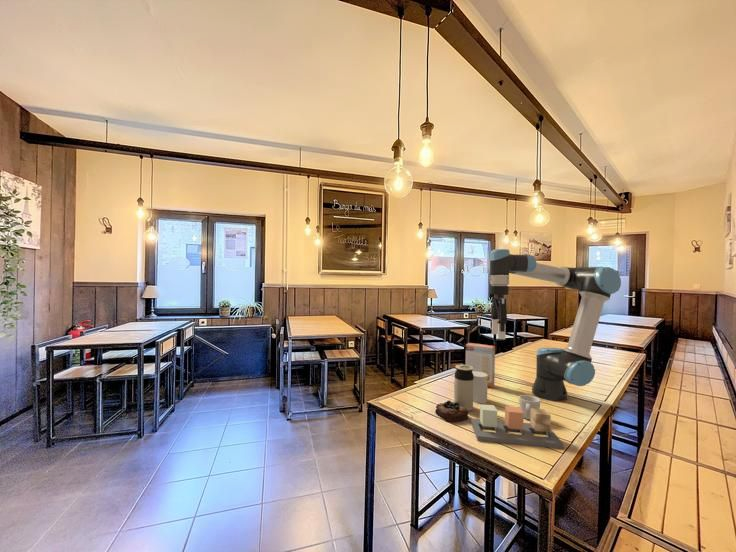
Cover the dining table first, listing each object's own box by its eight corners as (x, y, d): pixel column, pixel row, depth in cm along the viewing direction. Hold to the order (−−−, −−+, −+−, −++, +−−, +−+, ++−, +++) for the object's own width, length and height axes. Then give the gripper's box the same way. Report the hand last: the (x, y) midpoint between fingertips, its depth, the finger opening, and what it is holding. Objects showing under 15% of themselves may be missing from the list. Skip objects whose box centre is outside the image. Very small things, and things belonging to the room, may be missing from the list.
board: (547, 428, 123) (547, 424, 123) (563, 448, 110) (563, 443, 110) (470, 422, 128) (471, 418, 128) (477, 440, 114) (477, 436, 114)
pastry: (449, 425, 126) (449, 409, 126) (431, 412, 137) (432, 398, 137) (471, 420, 130) (472, 405, 130) (452, 408, 141) (453, 395, 141)
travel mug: (476, 407, 142) (476, 366, 142) (467, 413, 136) (468, 370, 136) (459, 402, 147) (460, 363, 147) (450, 407, 141) (451, 366, 141)
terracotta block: (518, 423, 121) (519, 407, 121) (523, 429, 116) (523, 413, 116) (504, 422, 121) (505, 406, 121) (508, 428, 116) (508, 411, 116)
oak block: (544, 425, 119) (545, 409, 119) (550, 432, 114) (550, 415, 114) (530, 424, 120) (530, 408, 120) (535, 430, 115) (535, 413, 115)
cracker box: (494, 385, 172) (495, 345, 172) (491, 388, 167) (492, 347, 167) (468, 379, 180) (469, 342, 180) (464, 382, 175) (465, 343, 175)
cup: (538, 426, 125) (539, 406, 125) (516, 421, 129) (516, 401, 129) (540, 416, 134) (541, 397, 134) (519, 411, 139) (520, 393, 139)
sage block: (493, 421, 122) (494, 405, 122) (496, 427, 117) (497, 410, 117) (479, 420, 123) (480, 404, 123) (482, 426, 118) (482, 409, 118)
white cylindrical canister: (488, 403, 147) (488, 377, 146) (469, 402, 148) (470, 376, 148) (485, 397, 154) (486, 372, 154) (467, 395, 156) (468, 370, 156)
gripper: (484, 284, 151) (483, 331, 151) (496, 286, 128) (495, 341, 128) (501, 284, 150) (500, 332, 150) (516, 286, 127) (515, 342, 127)
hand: (498, 336), depth 139 cm, fingers open, 11 cm apart
